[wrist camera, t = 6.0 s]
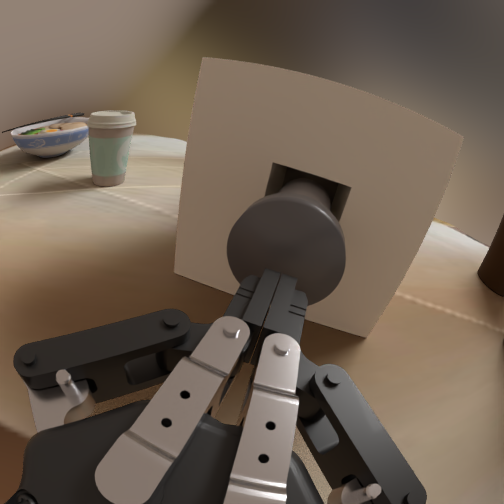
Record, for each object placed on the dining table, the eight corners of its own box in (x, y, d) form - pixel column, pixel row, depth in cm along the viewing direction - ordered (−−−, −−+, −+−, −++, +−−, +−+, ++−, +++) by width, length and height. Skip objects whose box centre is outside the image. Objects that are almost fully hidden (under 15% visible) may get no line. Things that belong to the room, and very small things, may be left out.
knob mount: (361, 272, 35) (419, 125, 25) (366, 337, 25) (463, 137, 15) (217, 225, 38) (248, 72, 27) (173, 272, 28) (202, 57, 17)
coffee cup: (121, 192, 41) (125, 117, 35) (77, 187, 40) (78, 116, 33) (138, 175, 48) (144, 111, 42) (98, 171, 47) (101, 109, 41)
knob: (328, 250, 24) (353, 180, 20) (320, 321, 16) (364, 226, 13) (257, 227, 25) (274, 155, 21) (219, 286, 17) (238, 185, 14)
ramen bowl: (22, 178, 39) (20, 137, 35) (-1, 159, 46) (-2, 128, 42) (115, 151, 59) (118, 118, 55) (73, 138, 66) (74, 112, 62)
